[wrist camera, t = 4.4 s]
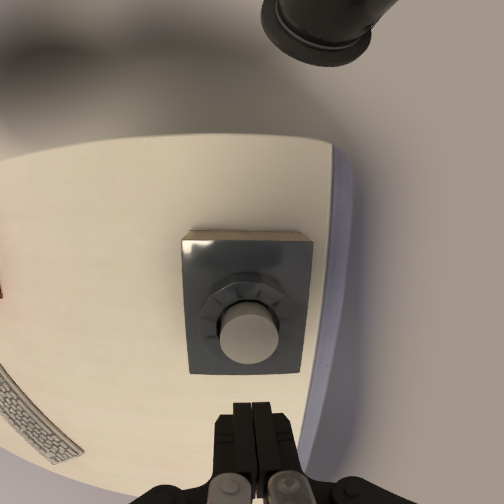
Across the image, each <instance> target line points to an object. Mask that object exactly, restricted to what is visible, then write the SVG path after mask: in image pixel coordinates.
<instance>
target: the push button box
mask: <svg viewBox="0 0 504 504" xmlns="http://www.w3.org/2000/svg"><path fill="white" fill-rule="evenodd" d="M181 248H182V277H183V297H184V314H185V328H186V340H187V352H188V362H189V372H190V374H205V375H266V374H289V373H299V372H300V366H301V359H302V351H303V344H304V336H305V327H306V318H307V309H308V300H309V290H310V279H311V267H312V255H313V241H312V240H310V239H309V238H308V237H306V236H305V235H303V234H302V233H301V232H275V231H210V230H190V231H189V232H188V233H187V234H186V235H185V236H184V238H183V239H182V240H181ZM241 302H256V303H259V304H261V305H263V306H265V307H266V308H267V309H268V310H269V311H270V312H271V314H272V316H273V319H274V322H275V325H276V328H277V332H278V337H279V340H278V345H277V347H276V349H275V351H274V352H273V354H272V355H271V356H270V357H268V358H267V359H265V360H263V361H261V362H258V363H254V364H242V363H238V362H235V361H233V360H232V359H230V358H229V357H228V356H226V354H225V353H224V352H223V350H222V348H221V345H220V328H221V320H222V317H223V315H224V313H225V312H226V311H227V310H228V309H229V308H230V307H232V306H233V305H235V304H237V303H241Z"/></svg>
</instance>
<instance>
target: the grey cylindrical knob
mask: <svg viewBox="0 0 504 504" xmlns="http://www.w3.org/2000/svg"><path fill="white" fill-rule="evenodd" d="M278 340H279V337H278V332H277V328H276V325H275V322H274V319H273V316H272V314H271V312H270V311H269V310H268V309H267V308H266V307H265V306H263V305H261V304H259V303H256V302H241V303H237V304H235V305H233V306H232V307H230V308H229V309H228V310H227V311H226V312H225V313H224V315H223V317H222V320H221V328H220V345H221V348H222V350H223V352H224V353H225V354H226V356H228V357H229V358H230V359H232V360H233V361H235V362H238V363H242V364H254V363H258V362H261V361H263V360H265V359H267V358H268V357H270V356H271V355H272V354H273V352H274V351H275V349H276V347H277V345H278Z"/></svg>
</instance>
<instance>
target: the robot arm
mask: <svg viewBox="0 0 504 504" xmlns="http://www.w3.org/2000/svg"><path fill="white" fill-rule="evenodd" d="M397 1H398V0H276V3H275V9H274V12H275V17H276V20H277V22H278V24H279V25H280V27H281V28H282V29H283V30H284V32H285V33H286V34H288V35H289V36H290V37H291V38H292V39H294V40H295V41H297V42H299V43H301V44H303V45H305V46H307V47H310V48H312V49H316V50H320V51H327V52H336V51H343V50H346V49H348V48H350V47H352V46H353V45H355V44H356V43H357V42H358V41H359V40H360V38H361V37H362V35H363V34H364V33H365V32H366V31H367V30H368V29H369V28H370V27H371V26H372V25H373V24H374V23H375V22H378V20H379V19H380V18H381V17H382V15H383V14H384V13H385V12H386V11H388V10H389V9H390V8H391V7H392V6H393V5H394V4H395V3H396V2H397ZM375 24H376V23H375ZM375 24H374V25H375ZM374 25H373V26H374ZM373 26H372V27H371V29H372V28H373ZM371 29H370V30H371ZM370 30H369V31H370ZM369 31H368V32H369ZM368 32H367V33H368ZM367 33H366V34H367ZM214 434H215V435H214V457H213V474H212V477H211V478H210V480H209V481H208V482H207V483H206V484H204V485H202V486H200V487H196V488H192V489H186V490H181V489H179V488H178V487H175V486H172V485H159V486H156V487H154V488H152V489H151V490H149V491H148V492H146V493H145V494H143V495H142V496H140V497H139V498H137V499H136V500H134V501H132V502H131V503H129V504H252V500H253V499H255V495H256V494H257V498H263V502H264V504H417V503H414V502H412V501H409V500H407V499H404V498H402V497H400V496H398V495H396V494H393V493H391V492H389V491H387V490H385V489H382V488H381V487H379V486H377V485H374V484H372V483H370V482H368V481H366V480H364V479H363V478H359V477H355V476H350V477H345V478H342V479H340V480H339V481H338V482H337V483H331V482H321V481H315V480H313V479H311V478H309V477H307V476H306V475H305V474H304V473H303V471H302V469H301V466H300V462H299V457H298V453H297V449H296V445H295V441H294V437H293V433H292V428H291V424H290V421H289V420H288V418H287V417H286V416H285V415H284V414H283V413H273V414H272V411H271V406H270V402H252V409H251V403H233V415H220V416H219V418H218V419H217V421H216V422H215V432H214Z"/></svg>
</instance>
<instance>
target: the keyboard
mask: <svg viewBox="0 0 504 504" xmlns="http://www.w3.org/2000/svg"><path fill="white" fill-rule="evenodd" d="M0 415H1V416H2V417H3V418H4V419H5V420H6V421H7V422H8V423H9V424H10V425H11V426H12V427H13V428H14V430H15V431H16V432H17V433H18V434H19V435H20V436H22V437H23V438H24V439H25V440H26V441H27V442H28V443H29V444H30V445H31V446H32V447H33V448H34V449H35V450H37V451H38V452H39V453H40V454H41V455H42V456H43V457H45V458H46V459H47V460H48V461H49V462H51V463H52V464H53V465H55V464H58V463H61V462H64V461H67V460H70V459H73V458H75V457H78V456H81V455H83V454H84V452H83V450H82V449H81V448H79V447H78V446H77V445H76V444H75V443H73V442H72V441H71V440H70V439H69V438H68V437H67V436H65V435H64V434H63V433H62V432H61V431H60V430H59V429H58V428H57V427H56V426H55V425H53V424H52V423H51V422H50V421H49V420H48V419H47V418H46V417H45V416H44V415H43V414H42V413H41V412H40V411H39V410H38V409H37V407H36V406H35V405H34V404H33V403H32V402H31V401H30V400H29V399H28V398H27V397H26V396H25V394H24V393H23V392H22V391H21V390H20V389H19V387H18V386H17V385H16V384H15V383H14V382H13V380H12V379H11V378H10V377H9V375H8V374H7V373H6V372H5V370H4V369H3V368H2V366H1V365H0Z"/></svg>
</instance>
